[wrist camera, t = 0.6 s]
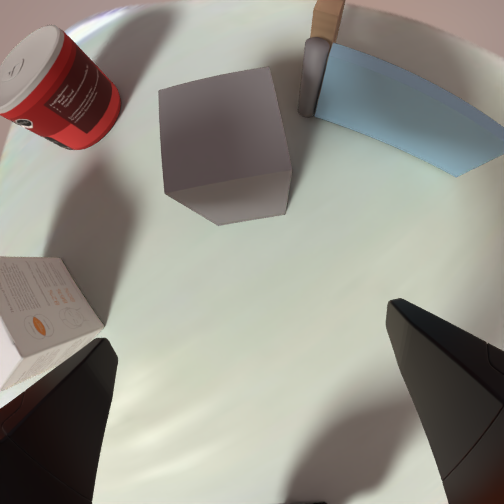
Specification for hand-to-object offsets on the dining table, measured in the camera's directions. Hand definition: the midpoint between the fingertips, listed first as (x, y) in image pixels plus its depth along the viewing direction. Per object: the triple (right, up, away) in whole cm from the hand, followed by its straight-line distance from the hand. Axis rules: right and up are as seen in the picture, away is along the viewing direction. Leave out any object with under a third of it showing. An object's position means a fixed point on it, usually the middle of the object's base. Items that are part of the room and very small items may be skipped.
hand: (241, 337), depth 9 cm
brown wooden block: (+6, +18, +13) cm, 23 cm away
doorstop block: (0, +7, +14) cm, 15 cm away
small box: (-17, -3, +15) cm, 23 cm away
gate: (+11, +12, +13) cm, 21 cm away
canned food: (-16, +16, +15) cm, 27 cm away
